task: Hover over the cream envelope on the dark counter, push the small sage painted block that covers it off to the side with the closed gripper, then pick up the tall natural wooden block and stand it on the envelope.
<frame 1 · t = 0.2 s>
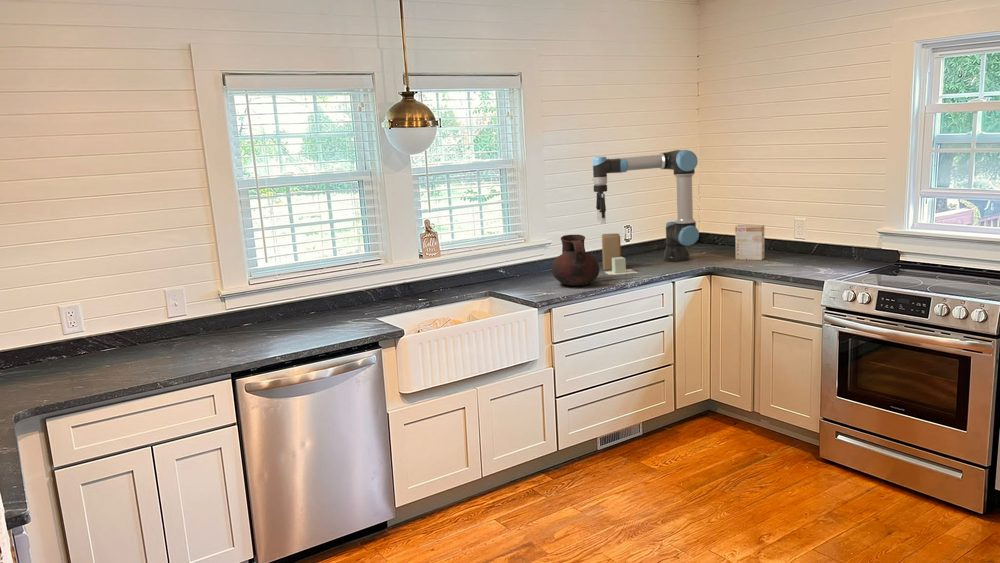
hand: (601, 222, 417), 27 cm above the worktop, fingers open, 13 cm apart
sage block: (619, 272, 411), resting on letter
jug: (576, 284, 387), on the worktop
letter: (620, 272, 412), on the worktop
coffeecake box: (749, 259, 429), on the worktop
wooden block: (612, 269, 424), on the worktop
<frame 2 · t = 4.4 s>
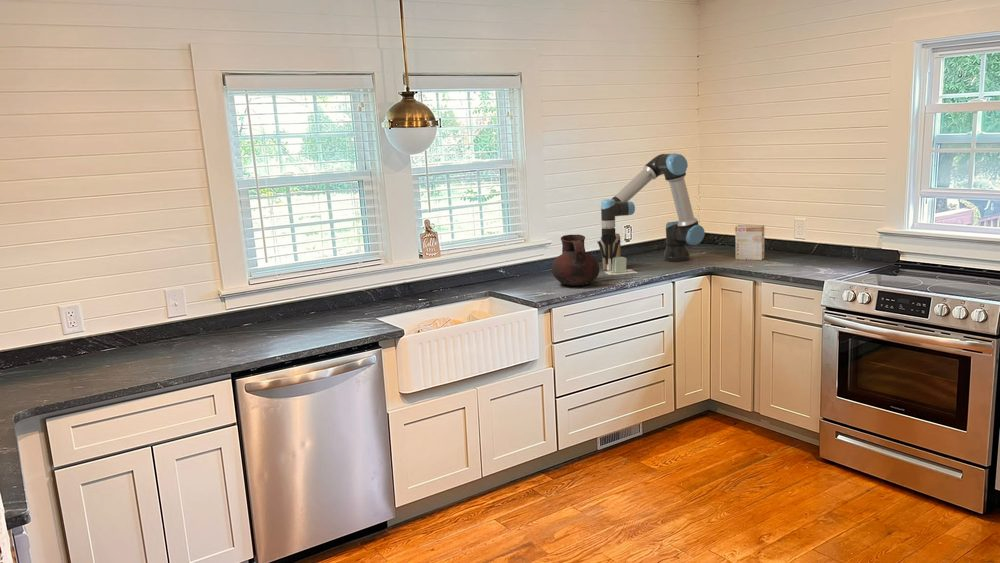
hand: (609, 270, 410), 2 cm above the worktop, fingers closed
sage block: (619, 271, 411), point 1 cm above the worktop, touching gripper, letter
everything else where it was.
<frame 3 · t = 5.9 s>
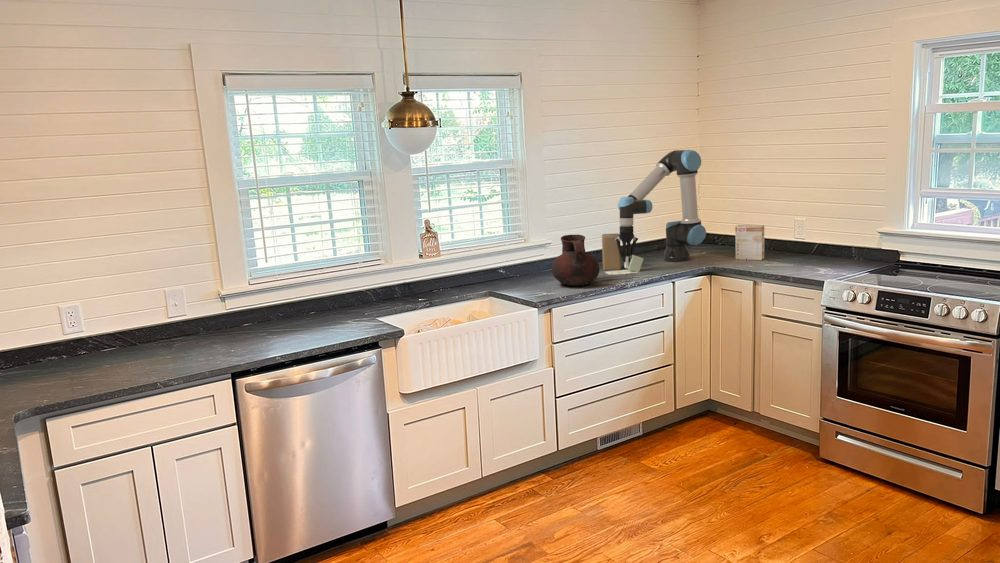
hand: (626, 267, 412), 2 cm above the worktop, fingers closed
sage block: (632, 269, 412), point 1 cm above the worktop, tilted 22°, touching gripper
everything else where it was.
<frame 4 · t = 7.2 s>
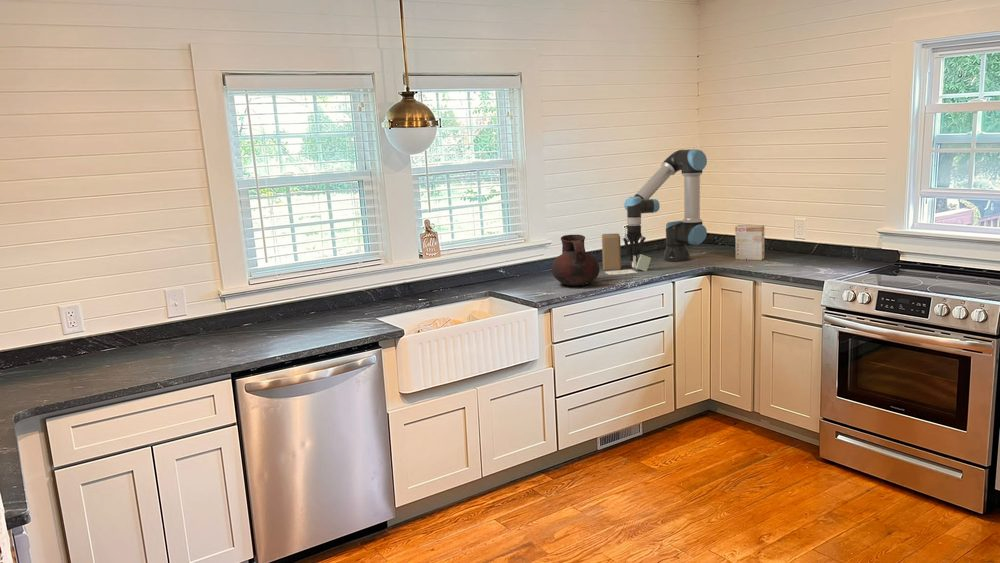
hand: (633, 267, 412), 3 cm above the worktop, fingers closed
sage block: (639, 269, 413), point 1 cm above the worktop, tilted 22°, touching gripper
everything else where it was.
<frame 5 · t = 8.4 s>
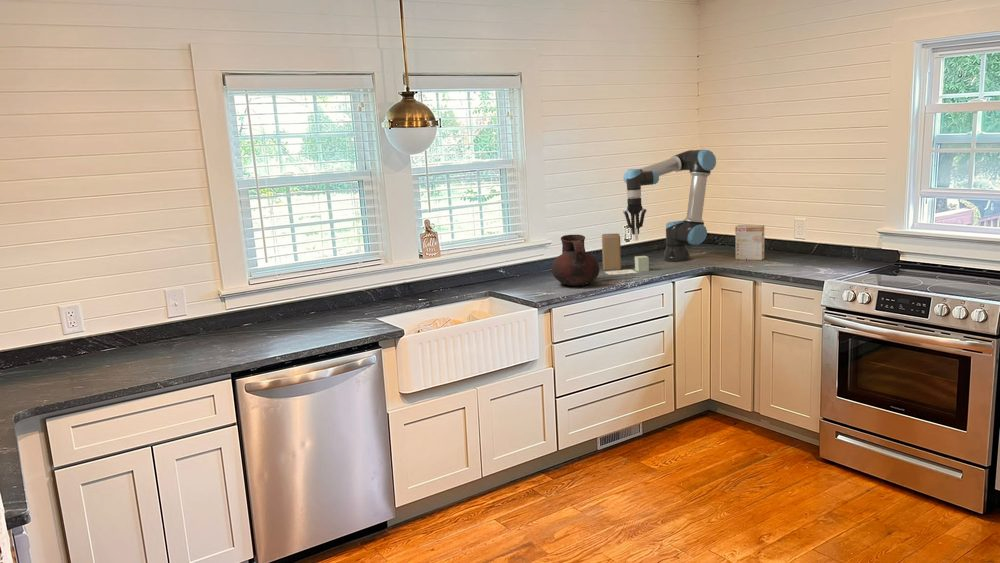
hand: (635, 240, 410), 18 cm above the worktop, fingers closed
sage block: (642, 270, 413), on the worktop
everything else where it was.
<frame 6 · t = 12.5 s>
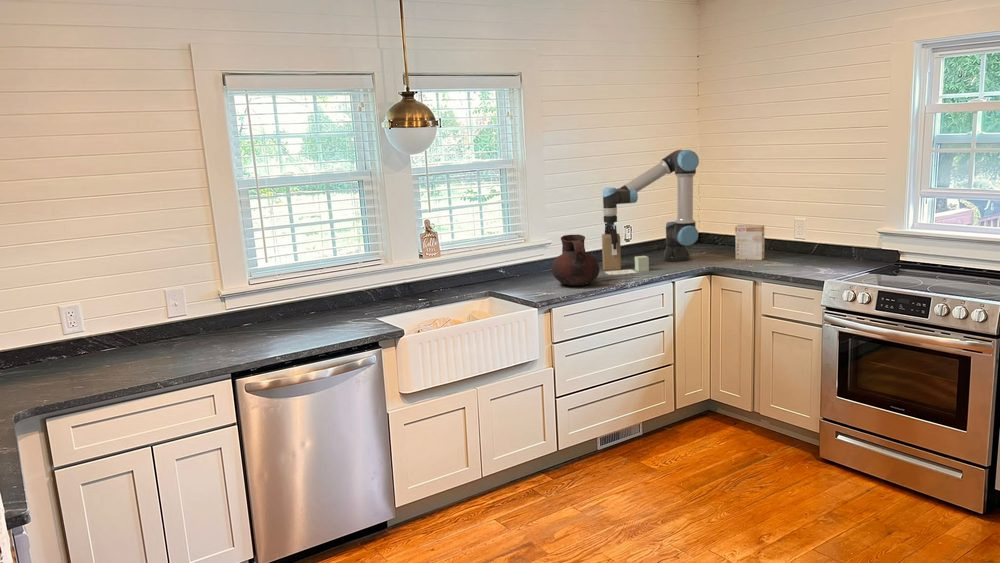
hand: (611, 253, 422), 9 cm above the worktop, fingers closed on wooden block, 11 cm apart
wooden block: (612, 269, 424), on the worktop, touching gripper
everything else where it was.
when the fingers open (11 cm above the worktop, at t = 18.0 s): wooden block drops 1 cm, resting on letter.
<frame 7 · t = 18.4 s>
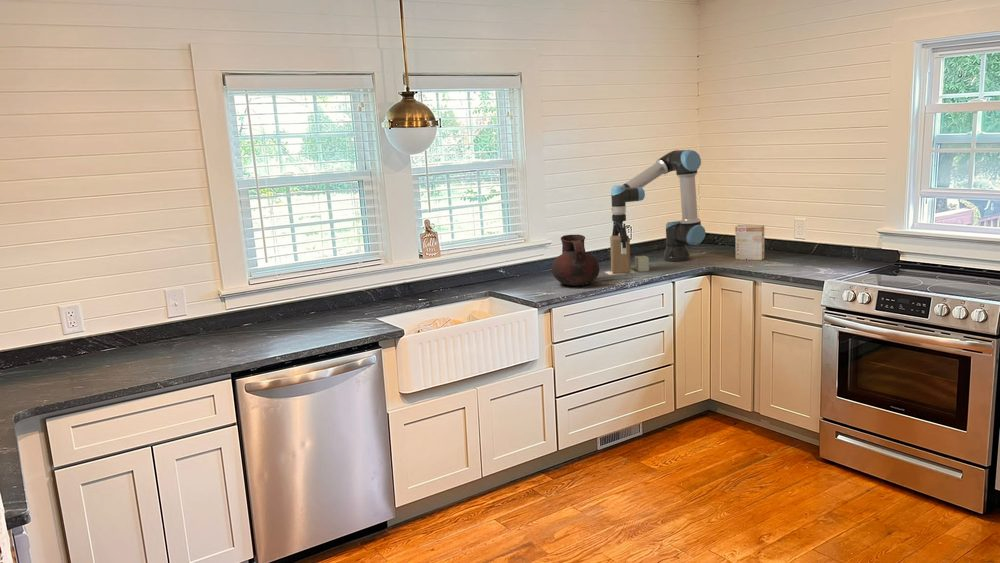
hand: (620, 252, 410), 12 cm above the worktop, fingers open, 13 cm apart
wooden block: (620, 272, 412), resting on letter
everything else where it was.
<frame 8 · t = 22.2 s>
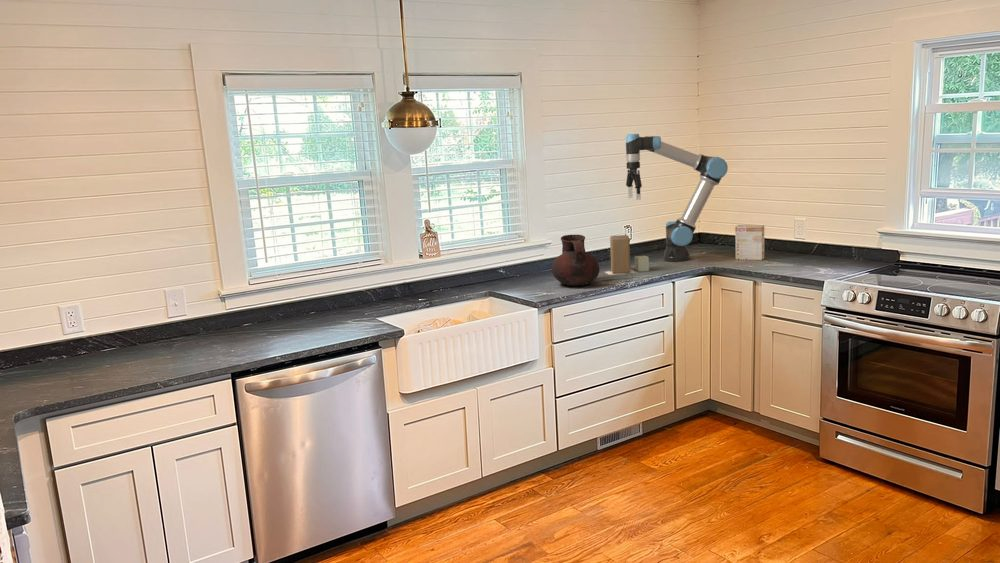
hand: (634, 199, 424), 39 cm above the worktop, fingers open, 13 cm apart
nothing on the worktop moved.
at the end: wooden block 0.1 cm from the letter (horizontally); wooden block tilted 0°; sage block touching worktop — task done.
